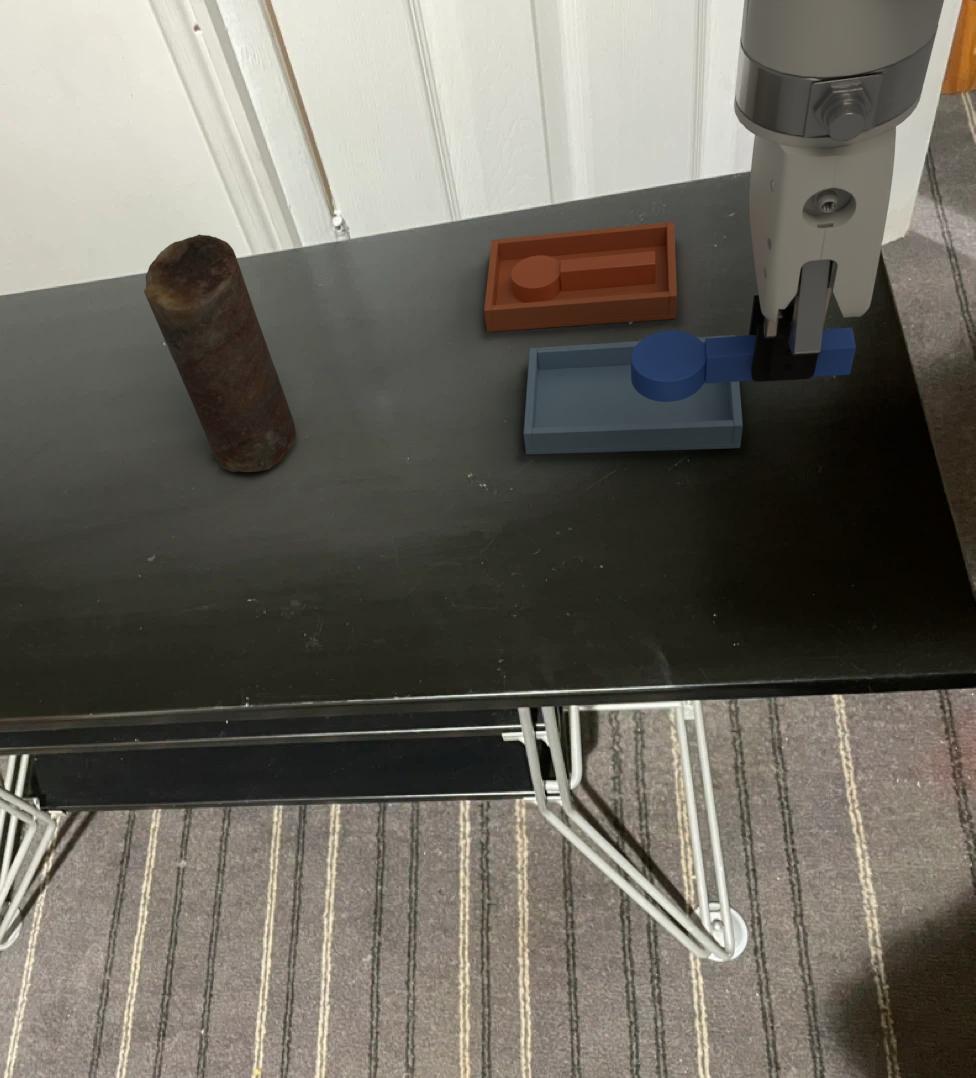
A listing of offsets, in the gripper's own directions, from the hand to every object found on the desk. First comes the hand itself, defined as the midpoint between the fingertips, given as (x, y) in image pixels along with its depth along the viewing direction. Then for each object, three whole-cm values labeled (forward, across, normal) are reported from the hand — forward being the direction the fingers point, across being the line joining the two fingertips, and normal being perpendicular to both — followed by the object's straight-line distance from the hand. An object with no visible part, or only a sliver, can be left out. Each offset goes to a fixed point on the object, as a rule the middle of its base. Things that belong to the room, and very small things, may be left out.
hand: (779, 360), depth 60 cm
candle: (+16, +8, +38) cm, 42 cm away
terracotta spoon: (+15, +25, +12) cm, 32 cm away
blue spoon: (+1, 0, +2) cm, 3 cm away
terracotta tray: (+16, +25, +12) cm, 32 cm away
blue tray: (+16, +11, +8) cm, 21 cm away
